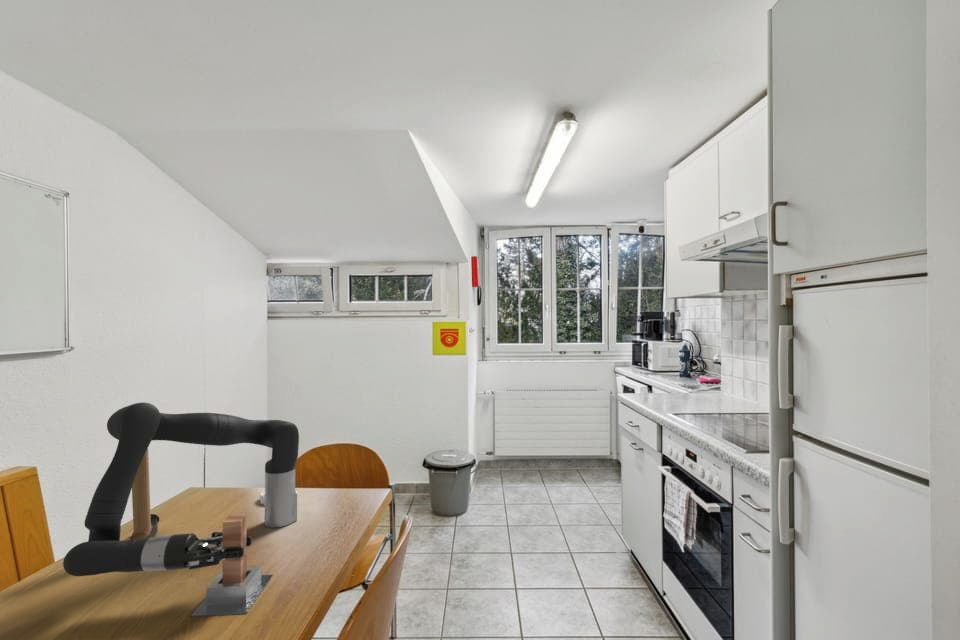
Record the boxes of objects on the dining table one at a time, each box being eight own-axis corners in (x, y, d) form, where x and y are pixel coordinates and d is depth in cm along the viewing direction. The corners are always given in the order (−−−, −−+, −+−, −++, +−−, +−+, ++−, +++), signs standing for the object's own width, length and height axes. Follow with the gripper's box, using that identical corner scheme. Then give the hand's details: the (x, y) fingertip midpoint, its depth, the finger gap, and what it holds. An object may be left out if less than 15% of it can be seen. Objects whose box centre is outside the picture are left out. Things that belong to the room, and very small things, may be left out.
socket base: (224, 580, 117) (224, 561, 117) (272, 578, 118) (273, 559, 118) (190, 620, 101) (190, 597, 101) (246, 617, 102) (246, 594, 102)
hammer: (144, 565, 128) (140, 464, 123) (121, 569, 126) (117, 467, 121) (160, 524, 146) (157, 435, 141) (141, 527, 144) (137, 437, 139)
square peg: (228, 589, 111) (228, 515, 112) (246, 588, 112) (246, 514, 112) (222, 599, 108) (222, 522, 108) (240, 597, 108) (240, 521, 109)
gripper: (154, 550, 101) (237, 544, 104) (184, 523, 115) (256, 518, 118) (153, 585, 101) (236, 577, 103) (183, 553, 115) (256, 547, 118)
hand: (247, 546), depth 111 cm, fingers open, 5 cm apart
